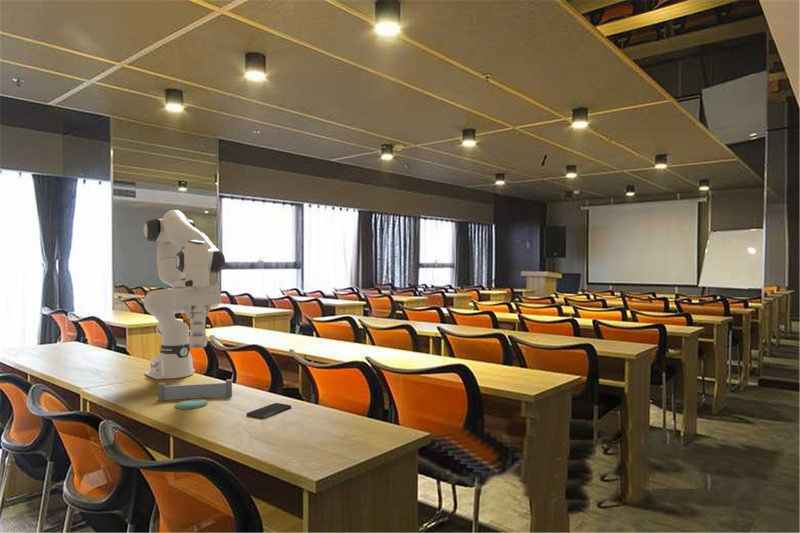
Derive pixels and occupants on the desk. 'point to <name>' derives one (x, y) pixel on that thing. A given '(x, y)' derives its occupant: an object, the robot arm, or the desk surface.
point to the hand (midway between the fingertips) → (197, 317)
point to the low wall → (194, 390)
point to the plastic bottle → (198, 326)
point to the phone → (268, 411)
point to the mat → (191, 404)
